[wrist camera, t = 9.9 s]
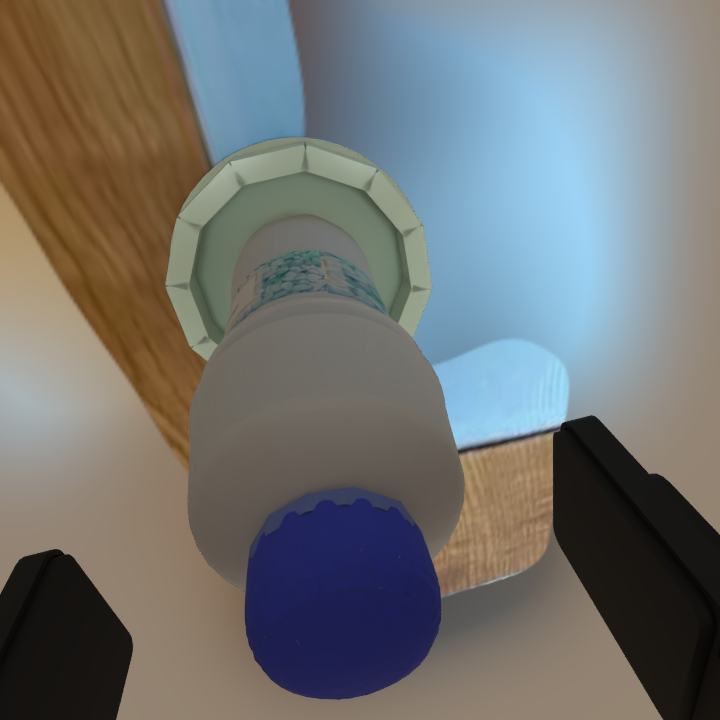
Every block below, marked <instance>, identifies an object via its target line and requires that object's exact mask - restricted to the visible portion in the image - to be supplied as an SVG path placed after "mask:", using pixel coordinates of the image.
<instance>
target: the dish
mask: <svg viewBox="0 0 720 720" xmlns="http://www.w3.org/2000/svg"><path fill="white" fill-rule="evenodd" d="M302 214H308V215H315V216H318V217H320V218H322V219H324V220H326V221H328V222H331V223H333V224H335V225H337V226H338V227H340V228H341V229H343V230H344V231H345V232H347V233H348V234H349V235H351V236H352V238H353V239H354V240H355V241H356V242H357V243H358V244H359V246H360V248H361V249H362V251H363V253H364V255H365V257H366V259H367V261H368V263H369V266H370V268H371V271H372V274H373V278H374V282H375V285H376V289H377V291H378V293H379V295H380V297H381V299H382V301H383V303H384V305H385V307H386V309H387V311H388V313H389V315H390V317H391V319H392V320H394V321H395V322H397V323H398V324H399V325H400V326H401V327H402V328H403V329H405V330H406V331H407V332H408V333H409V335H410V336H411V337H412V338H413V335H414V333H415V331H416V328H417V326H418V323H419V321H420V318H421V316H422V313H423V311H424V308H425V306H426V303H427V301H428V299H429V296H430V294H431V291H432V290H431V288H432V283H431V276H430V269H429V262H428V255H427V247H426V240H425V233H424V226H423V225H422V222H421V221H420V220H419V218H418V217H417V216H416V214H415V212H414V210H413V208H412V206H411V204H410V202H409V201H408V199H407V198H406V196H405V195H404V193H403V192H402V190H401V189H400V188H399V186H398V185H397V184H396V183H395V182H394V181H393V180H392V179H391V178H390V176H389V175H388V174H387V173H386V172H384V171H383V170H382V169H380V168H379V167H378V166H377V165H376V164H374V163H373V162H372V161H371V160H369V159H367V158H366V157H364V156H363V155H361V154H359V153H358V152H356V151H354V150H351V149H349V148H347V147H344V146H342V145H340V144H336V143H333V142H329V141H326V140H322V139H315V138H307V137H284V138H277V139H271V140H266V141H262V142H259V143H256V144H253V145H250V146H247V147H245V148H243V149H241V150H239V151H237V152H235V153H233V154H231V155H230V156H228V157H227V158H225V159H224V160H222V161H221V162H219V163H218V164H217V165H216V166H214V167H213V168H212V169H211V170H210V171H209V172H208V173H207V174H206V175H205V176H204V177H203V178H202V179H201V180H200V182H199V183H198V184H197V185H196V186H195V188H194V189H193V190H192V191H191V193H190V195H189V196H188V198H187V200H186V201H185V203H184V205H183V206H182V209H181V211H180V213H179V215H178V217H177V220H176V223H175V227H174V231H173V235H172V239H171V248H170V260H169V266H168V271H167V277H166V283H165V285H166V290H167V292H168V295H169V297H170V299H171V302H172V304H173V307H174V309H175V312H176V314H177V316H178V319H179V321H180V324H181V326H182V329H183V331H184V333H185V336H186V338H187V341H188V343H189V345H190V347H191V346H192V348H191V349H193V350H194V351H195V352H196V353H198V354H199V355H200V356H202V357H203V358H204V359H205V360H207V361H208V360H209V358H210V356H211V355H212V353H213V351H214V350H215V348H216V347H217V346H218V345H219V343H220V342H221V341H222V340H223V338H224V334H225V330H226V325H227V321H228V316H229V312H230V308H231V286H232V277H233V272H234V268H235V264H236V262H237V259H238V257H239V255H240V253H241V251H242V249H243V248H244V246H245V245H246V243H247V242H248V241H249V239H250V238H251V236H252V235H253V234H254V233H255V232H256V231H257V230H258V229H259V228H261V227H262V226H263V225H265V224H268V223H271V222H274V221H277V220H280V219H283V218H288V217H293V216H298V215H302Z"/></svg>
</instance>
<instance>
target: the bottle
mask: <svg viewBox="0 0 720 720" xmlns="http://www.w3.org/2000/svg"><path fill="white" fill-rule="evenodd" d="M188 429H189V441H190V449H189V479H188V516H189V524H190V529H191V531H192V534H193V537H194V539H195V542H196V545H197V547H198V549H199V551H200V552H201V553H202V555H203V557H204V558H205V560H206V561H207V563H208V564H209V565H210V566H211V567H212V568H213V569H214V570H215V571H216V572H217V573H218V574H219V575H220V576H221V577H223V578H224V579H225V580H226V581H227V582H229V583H231V584H232V585H234V586H235V587H237V588H239V589H240V590H242V591H244V592H246V596H245V625H246V635H247V638H248V642H249V646H250V648H251V650H252V651H253V655H254V658H255V661H256V662H257V663H258V664H259V665H260V666H261V667H262V670H263V671H264V672H265V673H266V674H267V675H268V676H269V678H270V679H271V680H272V681H274V682H275V683H276V684H277V685H279V686H280V687H282V688H284V689H286V690H288V691H290V692H292V693H295V694H298V695H302V696H305V697H311V698H318V699H338V700H340V699H349V698H354V697H359V696H363V695H368V694H371V693H374V692H376V691H379V690H381V689H384V688H385V687H388V686H390V685H392V684H394V683H396V682H398V681H399V680H401V679H402V678H404V677H406V676H407V675H409V674H410V673H411V672H412V671H413V670H414V669H415V668H416V667H418V666H419V665H420V663H421V662H422V661H423V660H424V659H425V657H426V656H427V654H428V652H429V650H430V648H431V646H432V644H433V642H434V640H435V638H436V636H437V633H438V630H439V624H440V621H441V596H440V587H439V583H438V578H437V575H436V572H435V569H434V566H433V563H432V560H433V559H434V558H435V557H436V556H437V555H438V553H439V552H440V551H441V550H442V548H443V547H444V546H445V544H446V543H447V542H448V540H449V539H450V537H451V535H452V533H453V531H454V529H455V527H456V525H457V523H458V521H459V518H460V513H461V509H462V505H463V501H464V485H465V484H464V473H463V469H462V466H461V462H460V458H459V455H458V451H457V448H456V444H455V440H454V437H453V433H452V430H451V426H450V423H449V419H448V415H447V411H446V408H445V400H444V395H443V391H442V387H441V384H440V382H439V379H438V377H437V375H436V373H435V371H434V370H433V368H432V366H431V364H430V363H429V361H428V360H427V359H426V358H425V357H424V355H423V354H422V352H421V350H420V349H419V347H418V346H417V344H416V343H415V341H414V340H413V339H412V337H411V336H410V335H409V333H408V332H407V331H406V330H405V329H403V328H402V327H401V326H400V325H399V324H398V323H397V322H395V321H394V320H392V319H391V317H390V315H389V313H388V311H387V309H386V307H385V305H384V303H383V301H382V299H381V297H380V295H379V293H378V291H377V289H376V285H375V282H374V278H373V274H372V271H371V268H370V266H369V263H368V261H367V259H366V257H365V255H364V253H363V251H362V249H361V248H360V246H359V244H358V243H357V242H356V241H355V240H354V239H353V238H352V236H351V235H349V234H348V233H347V232H345V231H344V230H343V229H341V228H340V227H338V226H337V225H335V224H333V223H331V222H328V221H326V220H324V219H322V218H320V217H318V216H315V215H308V214H302V215H298V216H293V217H288V218H283V219H280V220H277V221H274V222H271V223H268V224H265V225H263V226H262V227H261V228H259V229H258V230H257V231H256V232H255V233H254V234H253V235H252V236H251V238H250V239H249V241H248V242H247V243H246V245H245V246H244V248H243V249H242V251H241V253H240V255H239V257H238V259H237V262H236V264H235V268H234V272H233V277H232V286H231V308H230V312H229V316H228V321H227V325H226V330H225V334H224V338H223V340H222V341H221V342H220V343H219V345H218V346H217V347H216V348H215V350H214V351H213V353H212V355H211V356H210V358H209V360H208V362H207V363H206V365H205V368H204V371H203V374H202V377H201V380H200V383H199V385H198V387H197V388H196V391H195V394H194V396H193V399H192V402H191V407H190V412H189V422H188Z"/></svg>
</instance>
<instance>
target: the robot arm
mask: <svg viewBox="0 0 720 720" xmlns="http://www.w3.org/2000/svg"><path fill="white" fill-rule="evenodd" d="M553 527H554V533H555V536H556V539H557V541H558V543H559V545H560V547H561V549H562V551H563V552H564V554H565V556H566V557H567V559H568V561H569V562H570V564H571V566H572V567H573V569H574V571H575V572H576V574H577V576H578V577H579V579H580V581H581V582H582V584H583V586H584V587H585V589H586V591H587V593H588V594H589V596H590V598H591V599H592V601H593V603H594V604H595V606H596V608H597V609H598V611H599V613H600V615H601V616H602V618H603V619H604V621H605V623H606V624H607V626H608V628H609V630H610V631H611V633H612V635H613V636H614V638H615V640H616V641H617V643H618V645H619V646H620V648H621V650H622V651H623V653H624V655H625V657H626V658H627V660H628V661H629V663H630V665H631V667H632V668H633V670H634V672H635V673H636V675H637V677H638V678H639V680H640V682H641V684H642V685H643V687H644V689H645V690H646V692H647V694H648V695H649V697H650V699H651V700H652V702H653V704H654V705H655V707H656V709H657V710H658V712H659V714H660V715H661V717H662V718H663V720H720V535H719V534H718V532H716V530H715V529H714V528H713V527H712V526H711V525H710V524H709V523H708V522H707V521H706V520H705V519H704V518H703V517H702V516H701V515H700V514H699V513H698V512H697V510H696V509H695V508H694V507H693V506H692V505H691V504H690V503H689V502H688V501H687V500H686V499H685V498H684V497H683V496H682V495H681V494H680V493H679V492H678V490H677V489H676V488H675V487H674V486H673V485H672V484H671V483H670V482H669V481H667V480H666V479H665V478H664V477H663V476H660V475H658V474H648V472H647V471H646V470H645V469H644V468H643V467H642V466H641V465H640V464H639V463H638V462H637V461H636V459H635V458H634V457H633V456H632V455H631V454H630V453H629V452H628V451H627V450H626V448H625V447H624V446H623V445H622V444H621V443H620V442H619V441H618V440H617V439H616V438H615V436H614V435H612V433H611V432H610V431H609V430H608V429H607V428H606V427H605V426H604V425H603V423H602V422H601V421H600V420H598V418H596V417H595V416H592V415H591V416H587V417H583V418H579V419H575V420H571V421H567V422H564V423H562V425H561V430H560V431H559V432H555V433H554V435H553ZM132 652H133V643H132V638H131V635H130V633H129V632H128V631H127V629H126V628H125V626H124V625H123V624H122V623H121V621H120V620H119V618H118V617H117V616H116V614H115V613H114V612H113V610H112V609H111V608H110V606H109V605H108V604H107V602H106V601H105V600H104V598H103V597H102V595H101V594H100V593H99V591H98V590H97V589H96V587H95V586H94V585H93V583H92V582H91V581H90V579H89V578H88V577H87V575H86V574H85V572H84V571H83V570H82V568H81V567H80V566H79V564H78V563H77V562H76V560H75V559H74V558H73V557H72V556H71V555H69V554H68V555H65V554H64V553H63V552H62V551H61V550H58V549H54V550H49V551H45V552H42V553H37V554H33V555H29V556H25V557H23V558H22V559H20V560H19V561H18V563H17V564H16V566H15V567H14V569H13V571H12V573H11V575H10V577H9V579H8V581H7V583H6V585H5V587H4V588H3V590H2V592H1V594H0V720H116V718H117V713H118V710H119V706H120V702H121V697H122V693H123V689H124V685H125V681H126V677H127V673H128V669H129V665H130V661H131V657H132Z"/></svg>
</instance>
